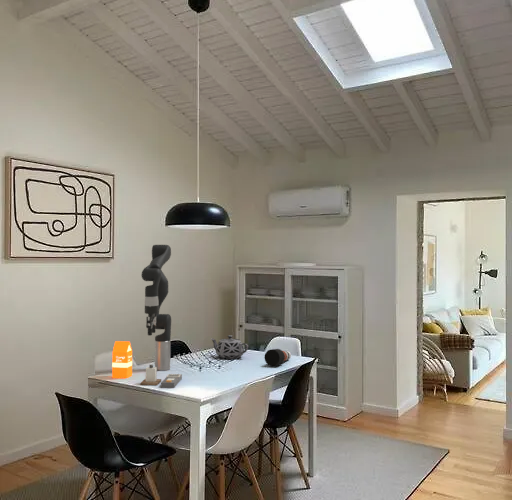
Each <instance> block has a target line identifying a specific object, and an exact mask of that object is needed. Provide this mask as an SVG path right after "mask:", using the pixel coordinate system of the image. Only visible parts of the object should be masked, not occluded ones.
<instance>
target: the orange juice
mask: <svg viewBox="0 0 512 500" xmlns="http://www.w3.org/2000/svg"><path fill="white" fill-rule="evenodd" d="M111 357H112V358H111V359H112V362H111V364H112V365H111V371H112V373H111V378H112V379H126V378H127V379H129V378H130V377H132V376H133V348H132V344H131V341H124V340H123V341H121V340H116V341H114V345H113V349H112V355H111Z"/></svg>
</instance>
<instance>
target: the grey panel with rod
mask: <svg viewBox="0 0 512 500" xmlns="http://www.w3.org/2000/svg"><path fill="white" fill-rule="evenodd" d="M182 378H183V374H182V373H180V374H179V373H169V374H167V375H166V377H164V379H163V380H161V382H160V388H163V389H164V388H167V389H175V388H176V386H177V385H178V384H179V383H180V382H181V381H182V380H183V379H182Z"/></svg>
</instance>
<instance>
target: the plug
mask: <svg viewBox="0 0 512 500" xmlns="http://www.w3.org/2000/svg"><path fill="white" fill-rule="evenodd" d="M157 371H158V370H157V367H155V366H154V365H153V364H149V366H147V367H145V379H146V382H155V381H156V380H157V379H158V377H157V376H158V375H157V373H158V372H157Z"/></svg>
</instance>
